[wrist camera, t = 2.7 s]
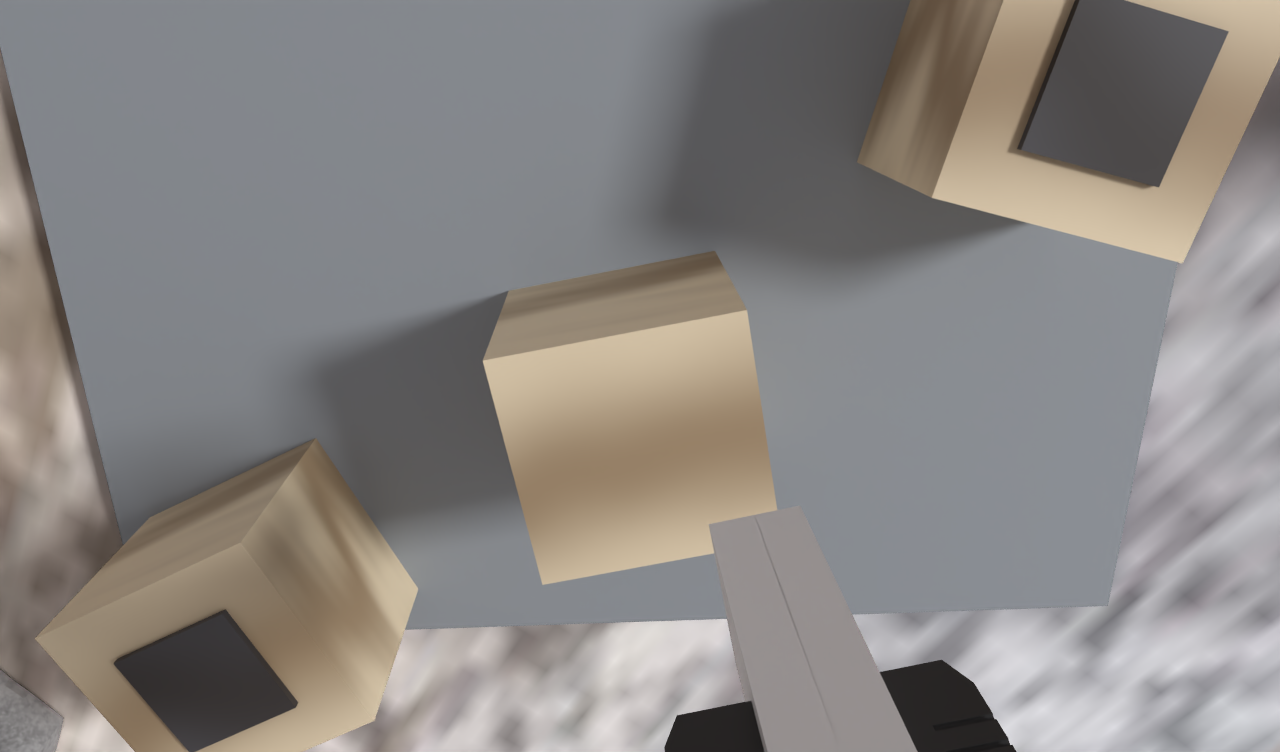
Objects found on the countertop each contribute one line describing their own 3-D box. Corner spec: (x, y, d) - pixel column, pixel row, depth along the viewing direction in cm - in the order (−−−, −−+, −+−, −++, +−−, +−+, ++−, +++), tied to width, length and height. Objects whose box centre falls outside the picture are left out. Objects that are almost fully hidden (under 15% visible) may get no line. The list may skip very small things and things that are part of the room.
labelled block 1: (149, 517, 28) (29, 643, 22) (316, 437, 27) (237, 546, 21) (260, 659, 30) (178, 809, 24) (418, 588, 29) (372, 726, 23)
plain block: (508, 290, 26) (482, 360, 20) (714, 250, 25) (746, 309, 20) (554, 475, 28) (542, 585, 22) (745, 439, 28) (781, 541, 22)
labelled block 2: (934, -72, 23) (1048, -110, 17) (1146, -8, 23) (1324, -24, 18) (856, 162, 25) (934, 199, 19) (1054, 214, 25) (1188, 265, 20)
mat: (-5, -32, 23) (-20, -34, 22) (1225, -44, 24) (1240, -45, 23) (154, 627, 30) (145, 638, 29) (1098, 595, 31) (1107, 605, 30)
